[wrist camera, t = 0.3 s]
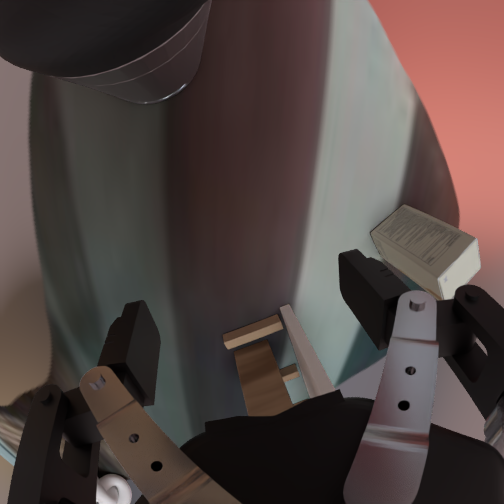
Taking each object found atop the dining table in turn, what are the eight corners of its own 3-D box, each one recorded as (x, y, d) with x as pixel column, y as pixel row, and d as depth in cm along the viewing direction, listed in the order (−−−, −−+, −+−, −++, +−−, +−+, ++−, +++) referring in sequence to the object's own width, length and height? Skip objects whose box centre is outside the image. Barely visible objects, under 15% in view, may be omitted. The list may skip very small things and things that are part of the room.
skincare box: (380, 257, 36) (442, 309, 25) (368, 232, 34) (435, 281, 23) (416, 227, 35) (483, 268, 24) (406, 201, 33) (478, 238, 22)
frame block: (232, 351, 37) (250, 428, 26) (267, 339, 37) (295, 413, 26) (243, 373, 39) (263, 445, 28) (276, 361, 39) (303, 431, 28)
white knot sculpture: (69, 461, 44) (64, 494, 36) (117, 464, 45) (115, 500, 37) (91, 481, 48) (89, 511, 40) (136, 484, 50) (136, 515, 42)
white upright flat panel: (220, 329, 35) (243, 445, 21) (288, 303, 36) (344, 407, 21) (269, 419, 45) (295, 500, 31) (318, 401, 45) (354, 478, 31)
